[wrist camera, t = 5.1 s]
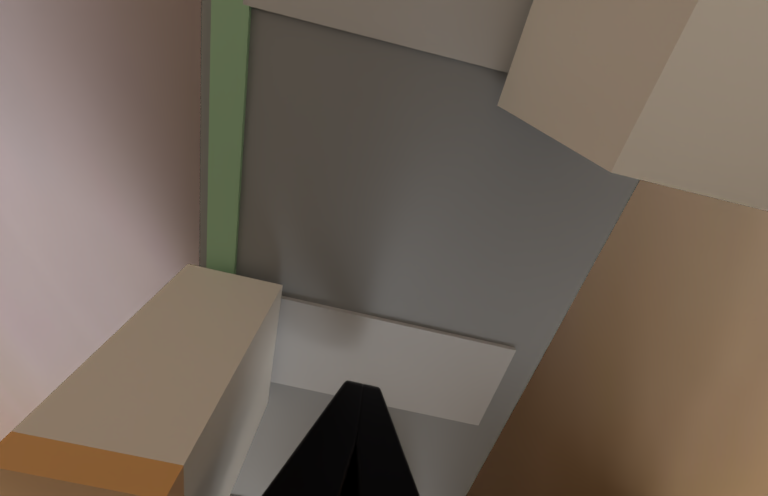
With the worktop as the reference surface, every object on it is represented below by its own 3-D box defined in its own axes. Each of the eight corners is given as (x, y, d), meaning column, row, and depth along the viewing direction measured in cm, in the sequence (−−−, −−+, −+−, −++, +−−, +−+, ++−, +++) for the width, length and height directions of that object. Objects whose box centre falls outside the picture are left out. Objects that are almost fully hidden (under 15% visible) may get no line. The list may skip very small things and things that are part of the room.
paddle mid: (282, 285, 8) (163, 501, 4) (268, 402, 10) (172, 636, 6) (188, 263, 8) (-23, 463, 4) (189, 385, 10) (37, 612, 6)
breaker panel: (748, -169, 6) (888, -261, 4) (409, 537, 16) (410, 600, 14) (266, -312, 6) (200, -480, 4) (220, 501, 16) (195, 560, 14)
